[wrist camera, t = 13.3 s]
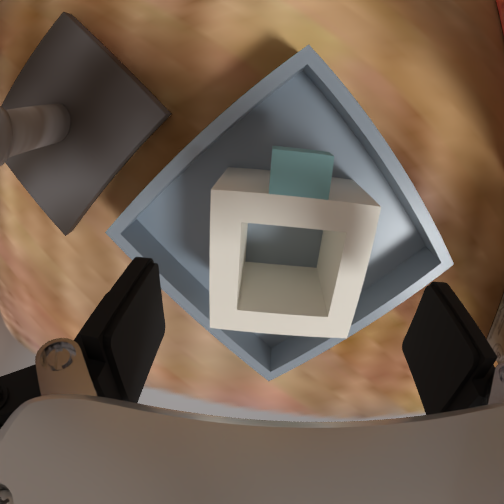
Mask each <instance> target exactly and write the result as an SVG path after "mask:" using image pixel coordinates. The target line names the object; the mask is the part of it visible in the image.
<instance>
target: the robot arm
mask: <svg viewBox="0 0 504 504" xmlns="http://www.w3.org/2000/svg"><path fill="white" fill-rule="evenodd" d="M164 333H165V319H164V312H163V303H162V294H161V285H160V275H159V266H158V264H157V263H154V261H153V259H152V258H145V257H135V258H134V259H133V260H132V262H131V263H130V264H129V266H128V267H127V268H126V270H125V271H124V272H123V274H122V275H121V276H120V278H119V279H118V280H117V282H116V283H115V284H114V286H113V287H112V289H111V290H110V291H109V292H108V293H107V294H106V295H105V296H104V298H103V299H102V300H101V302H100V303H99V305H98V306H97V307H96V309H95V310H94V312H93V313H92V314H91V316H90V317H89V319H88V320H87V322H86V323H85V325H84V326H83V327H82V329H81V330H80V332H79V333H78V335H77V336H76V338H75V339H74V340H71V339H68V338H58V339H53V340H51V341H48V342H47V343H45V344H44V345H43V346H42V347H41V348H40V349H39V350H38V352H37V354H36V357H35V363H36V364H35V365H32V366H30V367H27V368H24V369H21V370H19V371H16V372H13V373H10V374H7V375H4V376H1V377H0V504H504V363H500V364H498V365H497V366H496V368H495V367H494V365H493V364H494V362H495V361H496V359H497V358H498V357H497V355H496V354H495V352H494V350H493V349H492V347H491V346H490V344H489V343H488V341H487V339H486V338H485V336H484V335H483V333H482V332H481V330H480V329H479V327H478V326H477V324H476V323H475V321H474V320H473V318H472V317H471V315H470V314H469V313H468V311H467V310H466V308H465V307H464V305H463V304H462V303H461V301H460V300H459V298H458V297H457V296H456V294H455V293H454V292H453V290H452V289H451V288H450V286H449V285H448V284H447V283H445V282H431V284H430V285H428V286H427V287H426V288H425V291H424V293H423V296H422V298H421V301H420V303H419V306H418V308H417V311H416V313H415V316H414V318H413V320H412V323H411V325H410V327H409V329H408V332H407V334H406V336H405V338H404V340H403V344H402V350H403V353H404V355H405V358H406V360H407V363H408V365H409V368H410V371H411V373H412V376H413V379H414V381H415V384H416V387H417V389H418V392H419V395H420V398H421V401H422V404H423V406H424V409H425V412H426V415H423V416H415V417H406V418H396V419H384V420H370V421H350V422H288V421H266V420H252V419H240V418H230V417H221V416H213V415H205V414H198V413H191V412H184V411H177V410H171V409H165V408H159V407H153V406H148V405H143V404H138V403H137V402H138V400H139V397H140V394H141V392H142V389H143V387H144V384H145V381H146V379H147V376H148V374H149V371H150V368H151V366H152V363H153V361H154V358H155V356H156V353H157V351H158V348H159V346H160V343H161V341H162V338H163V336H164Z"/></svg>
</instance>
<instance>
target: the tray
mask: <svg viewBox="0 0 504 504" xmlns="http://www.w3.org/2000/svg"><path fill="white" fill-rule="evenodd" d="M272 146H282V147H292V148H301V149H309V150H318V151H325V152H330V153H331V154H332V155H334V163H333V171H332V177H336V178H343V179H350V180H354V181H355V182H356V183H357V184H358V185H359V186H360V187H361V188H362V189H363V190H364V191H366V192H367V193H368V194H369V195H370V196H371V197H372V198H373V199H374V200H375V201H376V202H377V203H378V204H379V205H380V206H381V210H380V215H379V220H378V224H377V229H376V233H375V238H374V242H373V246H372V251H371V255H370V259H369V263H368V267H367V271H366V275H365V278H364V282H363V286H362V289H361V293H360V297H359V300H358V304H357V307H356V310H355V314H354V317H353V320H352V324H351V327H350V330H349V333H348V336H347V338H348V337H350V336H351V335H353V334H354V333H356V332H358V331H359V330H361V329H362V328H364V327H366V326H367V325H369V324H370V323H372V322H373V321H375V320H377V319H378V318H380V317H381V316H383V315H384V314H386V313H387V312H389V311H390V310H392V309H393V308H395V307H396V306H398V305H399V304H401V303H402V302H403V301H405V300H406V299H408V298H409V297H411V296H412V295H413V294H415V293H416V292H418V291H419V290H420V289H422V288H423V287H425V286H426V285H427V284H429V283H430V282H431V281H433V280H434V279H435V278H437V277H438V276H439V275H441V274H442V273H443V272H445V271H446V270H447V269H448V268H450V267H451V266H452V265H454V263H453V261H452V259H451V256H450V254H449V252H448V250H447V248H446V246H445V244H444V242H443V240H442V237H441V235H440V233H439V231H438V229H437V227H436V226H435V224H434V222H433V220H432V218H431V216H430V214H429V212H428V210H427V208H426V207H425V205H424V203H423V201H422V199H421V198H420V196H419V194H418V192H417V191H416V189H415V187H414V185H413V184H412V182H411V180H410V179H409V177H408V175H407V174H406V172H405V170H404V169H403V167H402V166H401V164H400V162H399V161H398V159H397V158H396V156H395V155H394V153H393V152H392V150H391V149H390V147H389V146H388V144H387V143H386V141H385V140H384V138H383V137H382V135H381V134H380V132H379V131H378V129H377V128H376V127H375V125H374V124H373V122H372V121H371V120H370V118H369V117H368V116H367V114H366V113H365V111H364V110H363V109H362V107H361V106H360V105H359V104H358V102H357V101H356V100H355V98H354V97H353V96H352V94H351V93H350V92H349V91H348V89H347V88H346V87H345V86H344V84H343V83H342V82H341V81H340V80H339V78H338V77H337V76H336V75H335V74H334V72H333V71H332V70H331V69H330V68H329V67H328V65H327V64H326V63H325V62H324V61H323V60H322V59H321V57H320V56H319V55H318V54H317V53H316V52H315V51H314V50H313V49H312V48H311V46H310V45H307V46H306V47H305V48H303V49H302V50H300V51H299V52H298V53H296V54H295V55H294V56H292V57H291V58H290V59H288V60H287V61H286V62H284V63H283V64H282V65H280V66H279V67H278V68H276V69H275V70H274V71H272V72H271V73H270V74H269V75H267V76H266V77H265V78H263V79H262V80H261V81H260V82H258V83H257V84H256V85H255V86H254V87H252V88H251V89H250V90H249V91H247V92H246V93H245V94H244V95H243V96H241V97H240V98H239V99H238V100H237V101H236V102H234V103H233V104H232V105H231V106H230V107H229V108H227V109H226V110H225V111H224V112H223V113H222V114H221V115H219V116H218V117H217V118H216V119H215V120H214V121H213V122H212V123H210V124H209V125H208V126H207V127H206V128H205V129H204V130H203V131H202V132H201V133H200V134H199V135H197V136H196V137H195V138H194V139H193V140H192V141H191V142H190V143H189V144H188V145H187V146H186V147H185V148H184V149H183V150H182V151H181V152H180V153H179V154H178V155H177V156H176V157H175V158H174V159H173V160H172V161H171V162H170V163H169V164H168V165H167V166H166V167H165V168H164V169H163V170H162V171H161V172H160V173H159V174H158V175H157V176H156V177H155V178H154V179H153V180H152V181H151V182H150V183H149V184H148V185H147V186H146V187H145V188H144V189H143V191H142V192H141V193H140V194H139V195H138V196H137V197H136V198H135V199H134V200H133V201H132V203H131V204H130V205H129V206H128V207H127V208H126V209H125V210H124V211H123V213H122V214H121V215H120V216H119V217H118V218H117V219H116V221H115V222H114V223H113V224H112V225H111V226H110V228H109V229H108V230H107V231H106V232H105V233H106V234H107V235H108V236H109V237H110V238H111V239H112V240H113V241H114V242H115V243H116V244H117V245H118V246H119V247H120V248H121V249H122V250H123V251H124V252H125V253H126V254H127V255H128V256H129V257H130V258H131V259H132V260H133V259H134V258H135V257H145V258H152V259H153V261H154V263H157V264H158V266H159V275H160V285H161V289H162V290H163V291H165V292H166V293H167V294H168V295H169V296H170V297H171V298H172V299H173V300H174V301H175V302H176V303H177V304H179V305H180V306H181V307H182V308H183V309H184V310H185V311H186V312H187V313H188V314H190V315H191V316H192V317H193V318H194V319H195V320H196V321H197V322H198V323H200V324H201V325H202V326H203V327H204V328H205V329H206V330H208V331H209V332H210V333H211V334H212V335H213V336H214V337H216V338H217V339H218V340H219V341H220V342H221V343H223V344H224V345H225V346H226V347H227V348H229V349H230V350H231V351H232V352H233V353H235V354H236V355H237V356H238V357H239V358H241V359H242V360H243V361H244V362H245V363H247V364H248V365H249V366H250V367H252V368H253V369H254V370H255V371H257V372H258V373H259V374H260V375H262V376H263V377H264V378H265V379H267V380H268V381H270V380H272V379H274V378H276V377H278V376H280V375H282V374H284V373H286V372H288V371H290V370H292V369H293V368H295V367H297V366H299V365H301V364H303V363H305V362H306V361H308V360H310V359H312V358H314V357H315V356H317V355H319V354H321V353H322V352H324V351H326V350H328V349H329V348H331V347H333V346H334V345H336V344H338V343H340V342H341V341H343V340H345V339H346V338H327V337H308V336H293V335H279V334H266V333H255V332H244V331H234V330H225V329H216V328H210V299H209V270H210V204H211V189H212V187H213V186H214V185H215V183H216V182H217V181H218V179H219V178H220V177H221V176H222V174H223V173H224V172H225V170H226V169H227V168H228V167H234V168H248V169H260V170H271V158H272ZM322 234H323V230H318V229H308V228H298V227H287V226H276V225H265V224H254V223H248V229H247V244H246V259H245V262H256V263H267V264H278V265H290V266H301V267H313V268H317V263H318V257H319V251H320V246H321V240H322Z"/></svg>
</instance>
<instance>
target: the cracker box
mask: <svg viewBox="0 0 504 504" xmlns="http://www.w3.org/2000/svg"><path fill="white" fill-rule="evenodd" d="M496 3H497V7H498V11H499V15H500V20H501V24H502V29H503V35H504V0H496Z"/></svg>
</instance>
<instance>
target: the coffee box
mask: <svg viewBox="0 0 504 504" xmlns="http://www.w3.org/2000/svg"><path fill="white" fill-rule="evenodd" d="M487 341H488V343H489V344H490V346H491V347H492V349H493V350H494V352H495V354H496V355H497V357H498V358H497V359H496V361H497V362H498V364H500V363H504V294H503V297H502V300H501V303H500V306H499V309H498V311H497V314H496V317H495V319H494V322H493V325H492V327H491V330H490V332H489V335H488V337H487Z"/></svg>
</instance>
